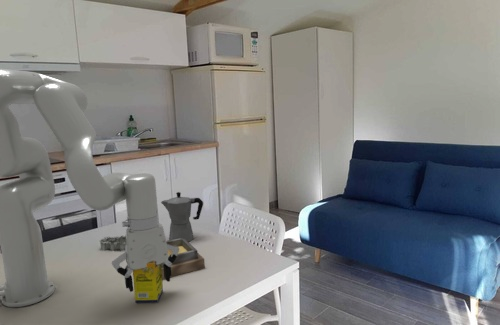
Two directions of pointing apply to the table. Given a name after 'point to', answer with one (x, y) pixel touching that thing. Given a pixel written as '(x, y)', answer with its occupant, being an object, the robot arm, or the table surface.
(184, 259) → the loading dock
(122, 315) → the table surface
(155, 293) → the supplement box
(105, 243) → the egg carton
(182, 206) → the coffeepot
